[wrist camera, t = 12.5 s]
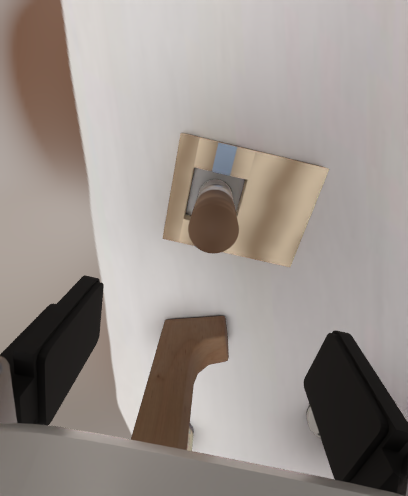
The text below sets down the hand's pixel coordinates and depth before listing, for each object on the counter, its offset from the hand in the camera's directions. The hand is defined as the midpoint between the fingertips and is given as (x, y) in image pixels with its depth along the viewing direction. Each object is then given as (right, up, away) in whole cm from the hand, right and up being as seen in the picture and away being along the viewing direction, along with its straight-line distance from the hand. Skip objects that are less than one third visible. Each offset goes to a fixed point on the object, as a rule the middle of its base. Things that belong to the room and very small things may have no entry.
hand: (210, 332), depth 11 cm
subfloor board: (+4, +9, +21) cm, 23 cm away
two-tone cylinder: (+1, +10, +21) cm, 23 cm away
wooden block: (-1, -9, +29) cm, 31 cm away
